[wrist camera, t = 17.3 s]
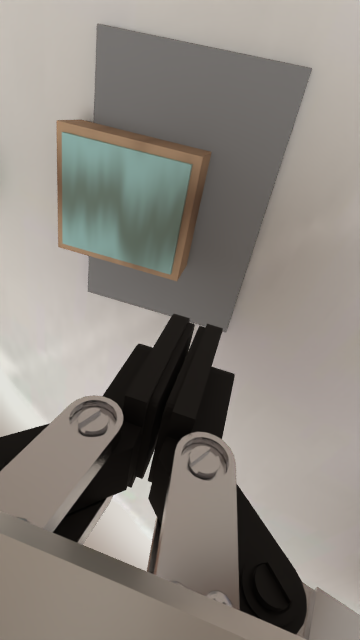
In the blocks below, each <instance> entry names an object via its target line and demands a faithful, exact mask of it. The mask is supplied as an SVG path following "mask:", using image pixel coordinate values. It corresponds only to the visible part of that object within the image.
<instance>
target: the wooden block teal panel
mask: <svg viewBox="0 0 360 640" xmlns="http://www.w3.org/2000/svg"><path fill="white" fill-rule="evenodd" d="M210 157H211V152H210V151H206V150H202V149H198V148H194V147H189V146H185V145H181V144H177V143H173V142H169V141H165V140H161V139H157V138H153V137H149V136H145V135H141V134H137V133H133V132H129V131H125V130H121V129H117V128H113V127H109V126H105V125H101V124H97V123H92V122H88V121H84V120H57V185H58V247H60V248H64V249H67V250H71V251H74V252H78V253H81V254H85V255H88V256H91V257H95V258H98V259H102V260H105V261H109V262H112V263H116V264H119V265H122V266H126V267H129V268H133V269H136V270H140V271H143V272H147V273H150V274H153V275H157V276H160V277H164V278H167V279H171V280H174V281H178V279H179V277H180V276H181V274H182V272H183V271H184V269H185V267H186V266H187V261H188V257H189V252H190V248H191V243H192V239H193V234H194V230H195V225H196V221H197V216H198V211H199V207H200V202H201V198H202V193H203V189H204V184H205V180H206V175H207V171H208V166H209V162H210Z"/></svg>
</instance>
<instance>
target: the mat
mask: <svg viewBox="0 0 360 640" xmlns="http://www.w3.org/2000/svg"><path fill="white" fill-rule="evenodd" d="M311 70H312V68H308V67H304V66H299V65H294V64H289V63H284V62H280V61H275V60H270V59H265V58H260V57H255V56H251V55H246V54H241V53H236V52H231V51H227V50H222V49H217V48H212V47H207V46H202V45H198V44H193V43H188V42H183V41H178V40H174V39H169V38H164V37H159V36H154V35H150V34H145V33H140V32H135V31H130V30H125V29H121V28H116V27H111V26H106V25H101V24H97V42H96V71H95V99H94V123H97V124H101V125H105V126H109V127H113V128H117V129H121V130H125V131H129V132H133V133H137V134H141V135H145V136H149V137H153V138H157V139H161V140H165V141H169V142H173V143H177V144H181V145H185V146H189V147H194V148H198V149H202V150H206V151H210V152H211V157H210V162H209V166H208V171H207V175H206V180H205V184H204V189H203V193H202V198H201V202H200V207H199V211H198V216H197V221H196V225H195V230H194V234H193V239H192V243H191V248H190V252H189V257H188V261H187V266H186V267H185V269H184V271H183V272H182V274H181V276H180V277H179V279H178V281H174V280H171V279H167V278H164V277H160V276H157V275H153V274H150V273H147V272H143V271H140V270H136V269H133V268H129V267H126V266H122V265H119V264H116V263H112V262H109V261H105V260H102V259H98V258H95V257H91V256H89V273H88V292H91V293H95V294H98V295H101V296H105V297H108V298H111V299H115V300H118V301H122V302H125V303H128V304H132V305H135V306H138V307H142V308H145V309H149V310H152V311H155V312H159V313H162V314H165V315H169V316H172V315H173V314H178V315H181V316H184V317H187V318H190V321H189V322H192V323H196V324H199V325H203V326H206V325H207V324H210V325H214V326H217V327H220V328H223V330H222V331H223V332H226V331H227V328H228V325H229V322H230V319H231V316H232V313H233V309H234V306H235V303H236V300H237V297H238V294H239V291H240V288H241V285H242V282H243V279H244V276H245V273H246V270H247V267H248V263H249V260H250V257H251V254H252V251H253V248H254V245H255V242H256V239H257V236H258V233H259V230H260V227H261V224H262V221H263V217H264V214H265V211H266V208H267V205H268V202H269V199H270V196H271V193H272V190H273V187H274V184H275V181H276V178H277V175H278V171H279V168H280V165H281V162H282V159H283V156H284V153H285V150H286V147H287V144H288V141H289V138H290V135H291V132H292V129H293V125H294V122H295V119H296V116H297V113H298V110H299V107H300V104H301V101H302V98H303V95H304V92H305V89H306V86H307V83H308V79H309V76H310V73H311Z"/></svg>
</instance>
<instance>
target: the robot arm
mask: <svg viewBox="0 0 360 640" xmlns="http://www.w3.org/2000/svg"><path fill="white" fill-rule="evenodd" d="M189 321H190V318H187V317H184V316H181V315H178V314H173V315H172V317H171V318H170V320H169V322H168V323H167V325H166V327H165V328H164V330H163V332H162V334H161V335H160V337H159V339H158V340H157V342H156V344H155V345H154V347H153V348H152V347H149V346H146V345H142V344H138V345H137V346H136V347H135V349H134V350H133V352H132V353H131V355H130V356H129V358H128V359H127V361H126V362H125V364H124V365H123V367H122V368H121V370H120V371H119V373H118V374H117V376H116V377H115V378H114V380H113V381H112V383H111V384H110V386H109V387H108V389H107V390H106V392H105V393H104V395H103V396H86V397H83V398H80V399H78V400H76V401H74V402H73V403H71V404H70V405H69V406H68V407H67V408H66V409H65V410H64V411H63V412H62V413H61V414H60V415H58V416H57V417H56V418H55V419H54V420H53V421H52V422H51V423H50V424H46V425H43V426H39V427H36V428H32V429H28V430H25V431H22V432H18V433H14V434H10V435H7V436H3V437H0V640H360V615H359V614H357V613H356V612H354V611H353V610H351V609H350V608H348V607H347V606H345V605H344V604H342V603H341V602H339V601H338V600H336V599H335V598H333V597H332V596H330V595H329V594H327V593H326V592H324V591H323V590H321V589H320V588H318V587H317V588H316V589H315V590H313V589H312V588H310V587H309V586H307V585H306V584H304V583H303V582H302V581H301V579H300V577H299V576H298V574H297V572H296V570H295V569H294V567H293V566H292V564H291V563H290V561H289V560H288V558H287V557H286V555H285V554H284V552H283V551H282V549H281V548H280V547H279V545H278V544H277V542H276V541H275V539H274V538H273V536H272V535H271V533H270V532H269V530H268V529H267V527H266V526H265V525H264V523H263V522H262V520H261V519H260V517H259V516H258V514H257V513H256V511H255V510H254V508H253V507H252V505H251V504H250V503H249V501H248V500H247V498H246V497H245V495H244V494H243V492H242V491H241V489H240V488H239V486H238V485H237V483H236V463H235V458H234V455H233V453H232V451H231V449H230V447H229V446H228V445H227V444H226V443H225V442H224V441H223V440H222V436H223V431H224V426H225V421H226V416H227V411H228V406H229V401H230V396H231V391H232V386H233V381H234V376H235V375H234V374H233V373H230V372H227V371H223V370H220V369H217V368H214V367H211V366H212V363H213V360H214V356H215V353H216V350H217V347H218V343H219V340H220V337H221V334H222V330H223V328H220V327H217V326H214V325H210V324H207V325H206V327H202V326H199V328H198V330H197V333H196V335H195V337H194V340H193V342H192V344H191V347H190V349H189V346H190V342H191V338H192V334H193V330H194V326H195V324H192V323H189ZM188 350H189V351H188ZM154 450H155V451H154ZM153 452H154V456H153V460H152V464H151V469H150V473H149V478H148V481H149V482H152V486H151V490H150V494H149V498H148V499H149V501H150V503H151V505H152V507H153V509H154V512H155V514H156V516H157V518H156V522H155V527H154V533H153V539H152V545H151V550H150V556H149V562H148V567H147V572H146V571H144V570H141V569H139V568H136V567H134V566H132V565H129V564H127V563H124V562H122V561H120V560H117V559H115V558H113V557H110V556H108V555H105V554H103V553H101V552H98V551H96V550H93V549H91V548H88V547H86V546H84V545H83V544H84V542H85V541H86V539H87V537H88V536H89V534H90V533H91V531H92V530H93V528H94V527H95V525H96V524H97V522H98V520H99V519H100V517H101V516H102V514H103V513H104V511H105V510H106V508H107V507H108V505H109V503H110V501H111V499H112V497H113V495H115V494H117V493H119V492H122V491H124V490H126V489H127V486H128V487H131V488H132V485H133V483H134V480H135V478H136V477H139V478H141V479H142V478H143V477H144V474H145V472H146V469H147V467H148V464H149V462H150V460H151V457H152V455H153Z"/></svg>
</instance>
